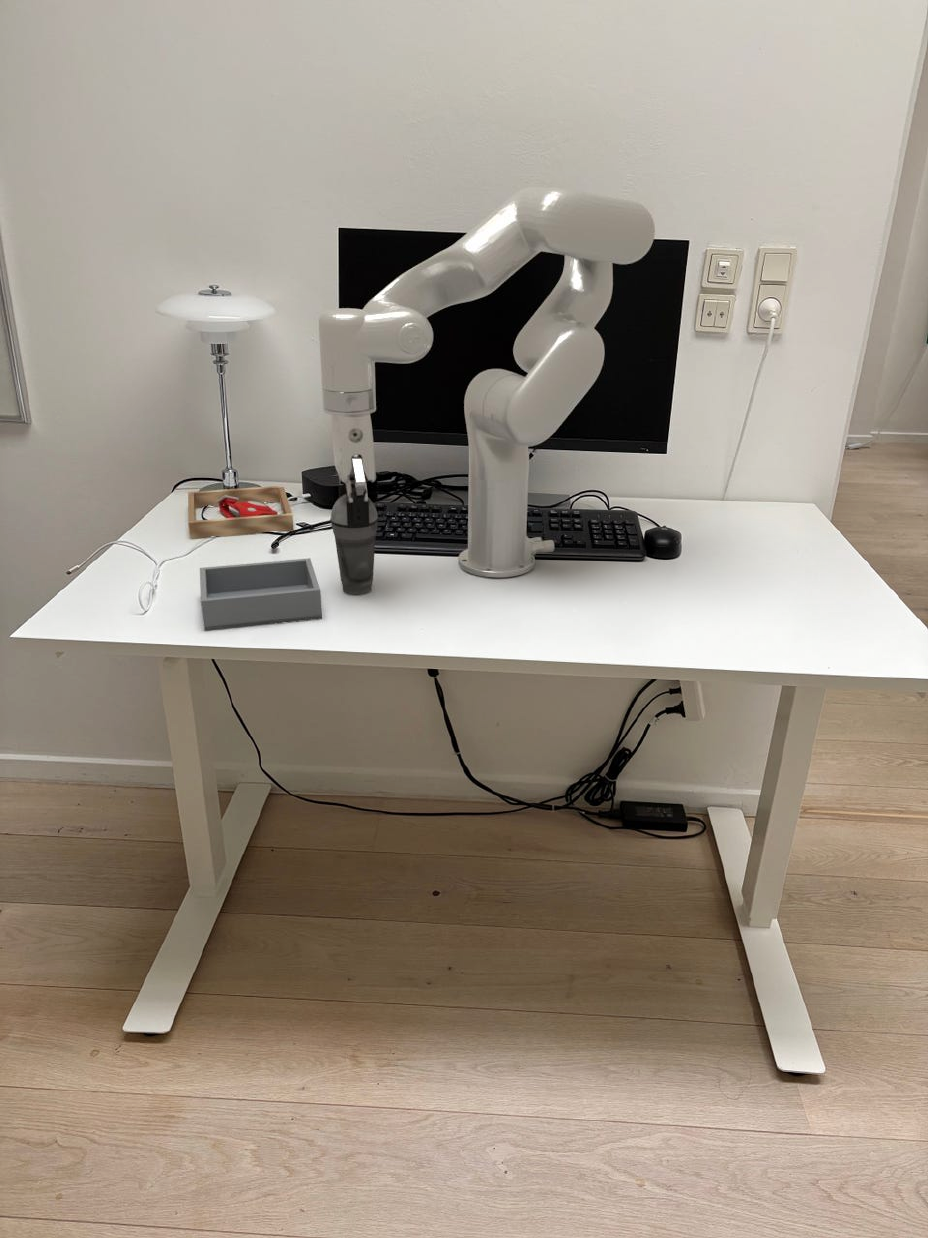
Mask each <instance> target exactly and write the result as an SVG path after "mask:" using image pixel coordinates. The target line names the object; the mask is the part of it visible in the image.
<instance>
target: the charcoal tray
mask: <svg viewBox="0 0 928 1238" xmlns="http://www.w3.org/2000/svg"><path fill="white" fill-rule="evenodd" d="M311 560H312V559H311V558H298V559H286V560H276V561H265V562H264V561H263V562H252V563H251V562H250V563H242V564H241V563H240V564H230V565H229V564H228V565H218V566H217V565H216V566H208V567H207V566H206V567H199V582H200V583H199V584H200V605H201V612H202V621H203V629H204V632H207V631H216V630H225V629H234V628H236V629H237V628H247V627H255V626H256V627H257V626H266V625H274V624H275V623H277V624H284V623H283V622H287V623H292V622H291V621H296V622H300V621H299V620H306V621H312V620H311V619H316V620H322V619H323V612H322V611H323V610H322V596H321V588H320V585H319V581H318V579H317V575H316V573H315V568H314V565H313V563H312V561H311Z"/></svg>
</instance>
